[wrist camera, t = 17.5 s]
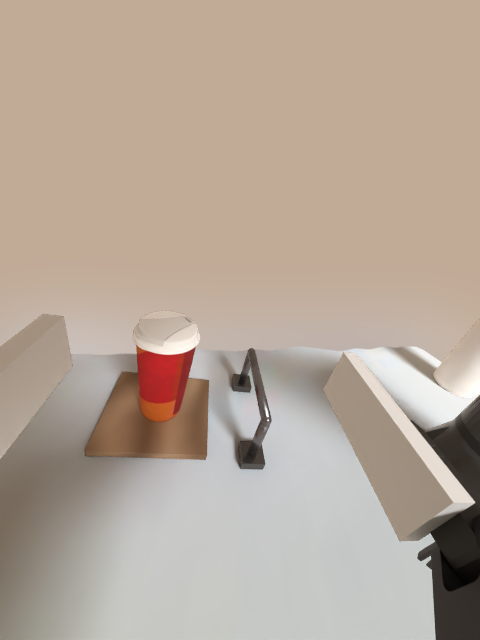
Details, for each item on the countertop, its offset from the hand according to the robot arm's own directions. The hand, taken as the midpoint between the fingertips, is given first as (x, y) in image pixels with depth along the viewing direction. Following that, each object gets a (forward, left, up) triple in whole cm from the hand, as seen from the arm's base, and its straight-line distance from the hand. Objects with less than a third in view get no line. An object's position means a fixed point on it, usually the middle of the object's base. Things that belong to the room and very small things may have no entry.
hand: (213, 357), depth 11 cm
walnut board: (+4, -15, -23) cm, 28 cm away
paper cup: (+4, -15, -22) cm, 27 cm away
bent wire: (-9, -15, -23) cm, 29 cm away
